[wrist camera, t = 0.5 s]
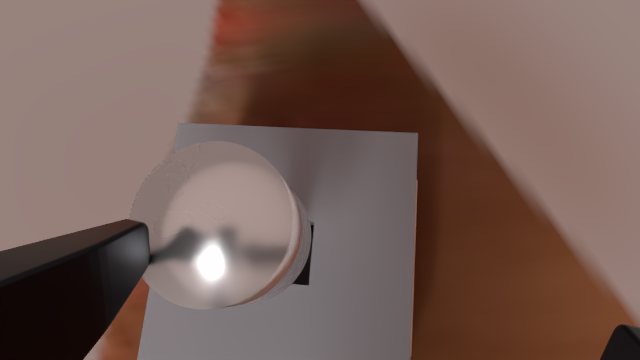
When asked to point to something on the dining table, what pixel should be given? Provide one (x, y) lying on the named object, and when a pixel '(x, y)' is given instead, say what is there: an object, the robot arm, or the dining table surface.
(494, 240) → the dining table surface
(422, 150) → the dining table surface
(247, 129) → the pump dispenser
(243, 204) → the pump plunger
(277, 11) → the dining table surface
